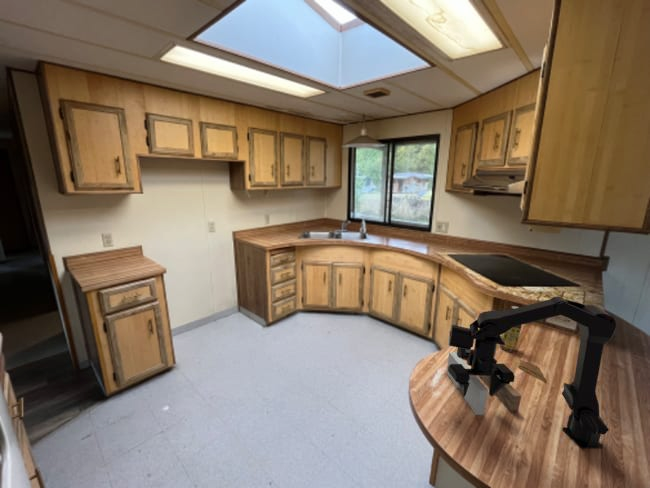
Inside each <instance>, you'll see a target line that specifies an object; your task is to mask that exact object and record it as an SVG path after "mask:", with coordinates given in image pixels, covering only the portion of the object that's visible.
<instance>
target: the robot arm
mask: <svg viewBox="0 0 650 488" xmlns="http://www.w3.org/2000/svg"><path fill="white" fill-rule="evenodd" d="M518 307H519V308H515V309H512V310H511V309H509V310H497V309H495V310H494V309H493V310H487V311H482V312H481V313H479V314H478V316H477V319H475V320H474V321H473V322H471V323H470V324H469V327H464V326H459V325H457V324H451V327H450V330H449V337H448V346H449V347H454V348H457V350H456V353H457V356H458V357H459V358H461V359H462V360H463V361H466V365H467V366H468V367H469V366H470V369H465V368H464V367H463V366H462V364H450V365H449V366H448V372H449V373H450V374H451V376H452V377H453V378H454V380H455V381H456V382H458V383H459V386H460V388H459V389H460V393H461V395H462V397H463V398H464V397H465V395H466V393H467V390H468V387H469V384H470V383H469V382H468V381H469V380H470V376H476V377H480V376H491V382H490V388H489V387H488V388H489V389H488V394H489V395H488V396H490V397H493V396H495V393H497V392H498V391H499V390H500V389H501V388H503V387H504V386H505V385H507V384H511V383H514V381H515V378H516V377H515V372H513V371H512V370H511V369H510V368H509V367H508V366H507V365H506V364H505V363H497V362H498V360H496V359H495V355H496V350H497V345H499V346H500V345H505V342H504V340H503V338H502V334H503V333H506V332H507V331H508V330H510V329H511V328H513V327H515V326H518V325H522V326H523V325H525V324H531V323H535V322H538V321H541V320H546V319H551V318H554V317H558V316H562V317H565V318H567V319H569V320H571V321H574V322H575V323H577V325H578V329H579V333H580V342H579V349H578V354H577V355H578V356H577V360H576V364H575V365H576V366H575V372H574V373H575V374H574V377H573V378H574V379H573V381H571V383H566V382H564V383H563V390H562V392H561V395H562V397H563V398H564V400H565V402H566V403H567V406H568V407H569V409H570V411H571V413H570V414H568V415H569V416H568V420H567V422H566V427H562V428H561V430H562V431H563V432H564V433H565V434H567V436H568V437H570V439H571V440H572V441H573V442H575V443H576V445H577V446H578V447H580V448H581V449H602V448H604V446H603V444H602V443H600V439H601V436H602V435H605V434H606V433H608V432H609V428H608V426H607V424H606V423H605V421H604V420H603V418H602V417H601V414H600V404H599V400H598V397H597V392H596V390H597V385H598V379H599V374H600V369H601V368H600V367H601V364H602V358H603V353H604V348H605V347H604V346H605V345H606V343H608V342H610V340H611V339H612V338H613V336H614V334H615V332H616V329H617V326H618V324H617V323H618V322H617V320H616V319H615V318H614V317H612V315H610V314H609V313H607V311H605V310H604V309H602V308H601V307H600V306H598V305H595V304H587V305H586V304H584V303H580V302H578V301H575V300H574V301H573V300H571V299H566V298H564V297H562V296H552V297H551V298H550V299H546V300H542V301H538V302H535V303H531V304H527V305H524V306H518ZM472 348H473V349H472Z"/></svg>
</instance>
